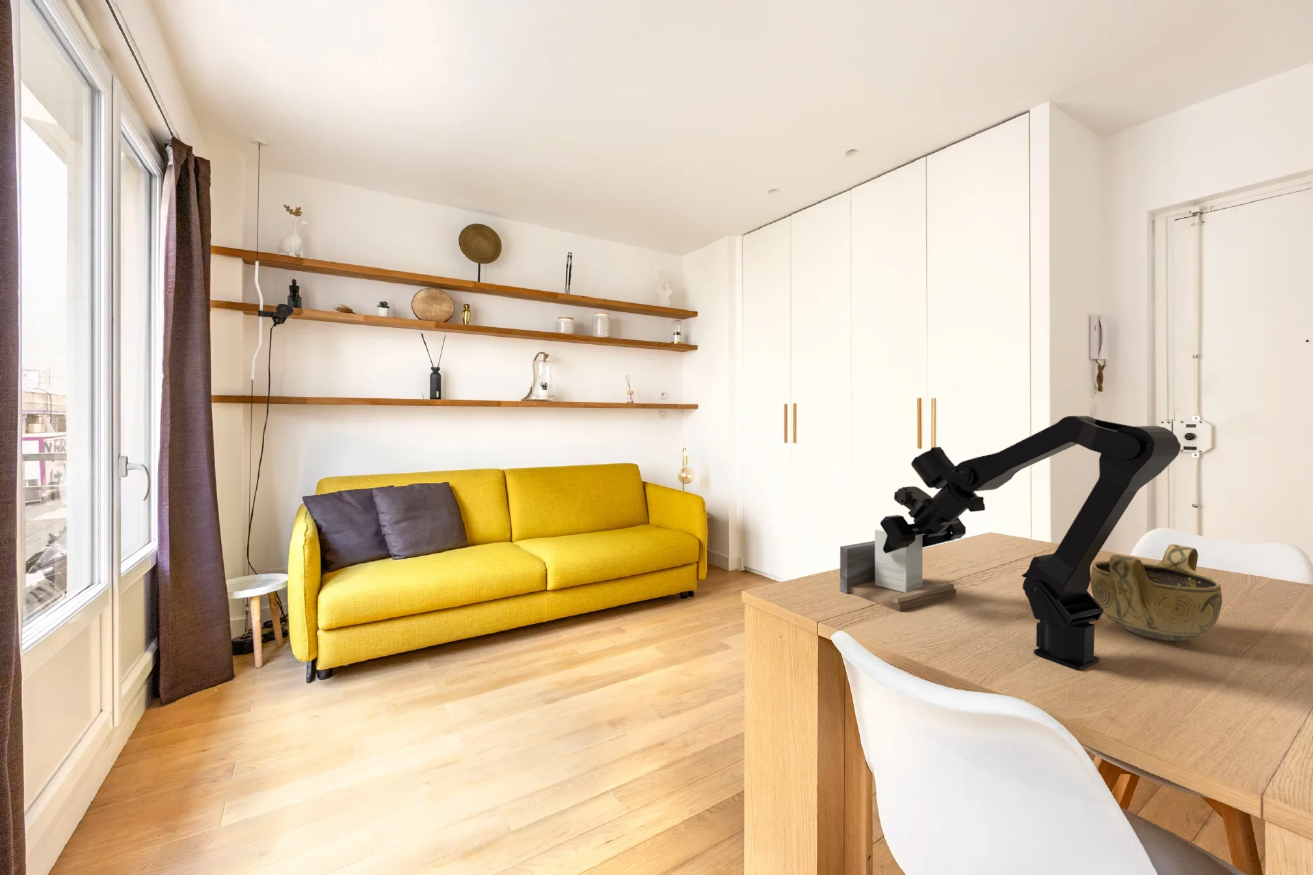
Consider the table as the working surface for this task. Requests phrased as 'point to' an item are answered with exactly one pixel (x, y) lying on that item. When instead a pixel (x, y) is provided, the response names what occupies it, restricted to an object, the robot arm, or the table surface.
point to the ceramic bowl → (1158, 595)
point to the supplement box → (898, 565)
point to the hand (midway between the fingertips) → (900, 549)
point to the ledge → (861, 582)
